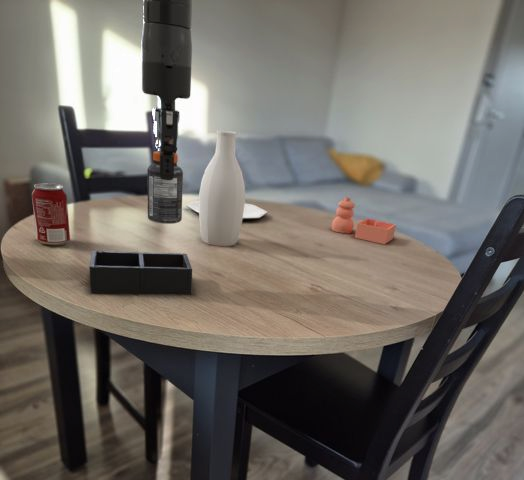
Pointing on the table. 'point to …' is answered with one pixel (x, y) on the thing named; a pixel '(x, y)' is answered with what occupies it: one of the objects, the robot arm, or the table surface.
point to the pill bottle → (164, 193)
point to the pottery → (362, 225)
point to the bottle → (222, 194)
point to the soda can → (51, 214)
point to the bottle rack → (140, 273)
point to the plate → (248, 212)
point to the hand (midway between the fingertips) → (165, 175)
